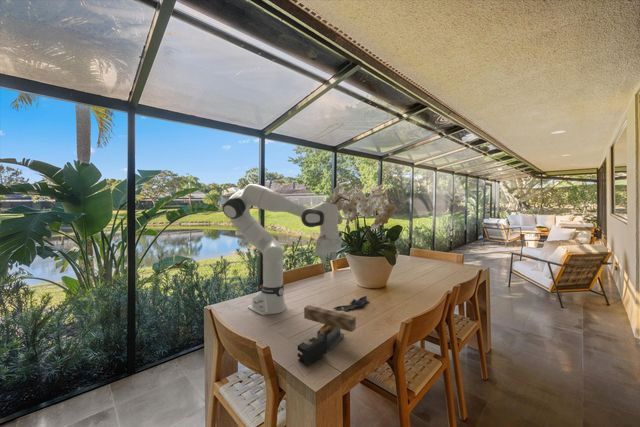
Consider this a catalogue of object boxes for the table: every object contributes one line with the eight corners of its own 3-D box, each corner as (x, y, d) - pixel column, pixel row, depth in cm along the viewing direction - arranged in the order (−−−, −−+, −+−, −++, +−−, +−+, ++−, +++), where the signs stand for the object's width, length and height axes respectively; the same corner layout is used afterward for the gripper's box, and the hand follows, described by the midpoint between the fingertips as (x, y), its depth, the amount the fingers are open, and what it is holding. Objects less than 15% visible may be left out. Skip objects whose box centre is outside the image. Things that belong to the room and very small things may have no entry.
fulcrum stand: (313, 345, 111) (313, 327, 111) (328, 332, 122) (328, 315, 122) (329, 350, 107) (329, 332, 106) (343, 336, 118) (343, 319, 117)
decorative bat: (344, 308, 139) (331, 304, 146) (345, 316, 139) (332, 312, 146) (378, 295, 158) (365, 292, 166) (378, 302, 158) (366, 298, 165)
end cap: (309, 369, 95) (308, 351, 95) (296, 361, 100) (296, 344, 100) (327, 358, 102) (327, 341, 102) (315, 350, 107) (315, 334, 107)
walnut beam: (355, 328, 109) (355, 316, 109) (352, 332, 106) (352, 320, 106) (308, 315, 122) (308, 305, 122) (304, 318, 119) (304, 307, 119)
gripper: (323, 237, 117) (323, 267, 118) (343, 232, 135) (343, 259, 135) (312, 235, 121) (311, 265, 121) (333, 231, 138) (332, 257, 139)
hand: (328, 261), depth 128 cm, fingers open, 8 cm apart
